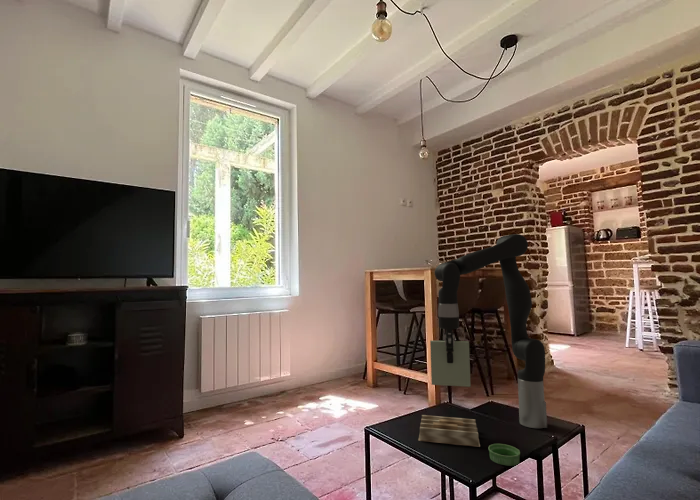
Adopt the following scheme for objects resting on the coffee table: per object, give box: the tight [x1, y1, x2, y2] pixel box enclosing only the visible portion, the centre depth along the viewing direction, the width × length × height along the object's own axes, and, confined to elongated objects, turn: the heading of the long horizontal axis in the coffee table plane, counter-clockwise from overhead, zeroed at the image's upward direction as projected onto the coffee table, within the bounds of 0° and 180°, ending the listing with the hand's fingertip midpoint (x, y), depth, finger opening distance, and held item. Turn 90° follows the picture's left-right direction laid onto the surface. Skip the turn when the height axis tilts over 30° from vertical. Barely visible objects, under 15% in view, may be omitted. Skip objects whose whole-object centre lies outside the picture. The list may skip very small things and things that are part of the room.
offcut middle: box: [439, 419, 463, 426], centre depth 131 cm, size 8×2×5 cm, turn 76°
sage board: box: [430, 340, 472, 388], centre depth 140 cm, size 14×2×16 cm, turn 76°
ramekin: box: [488, 443, 521, 467], centre depth 113 cm, size 9×9×4 cm
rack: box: [417, 414, 481, 448], centre depth 131 cm, size 20×14×6 cm
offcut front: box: [433, 422, 458, 430], centre depth 128 cm, size 8×2×5 cm, turn 76°
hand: (450, 362), depth 140 cm, fingers closed on sage board, 2 cm apart
